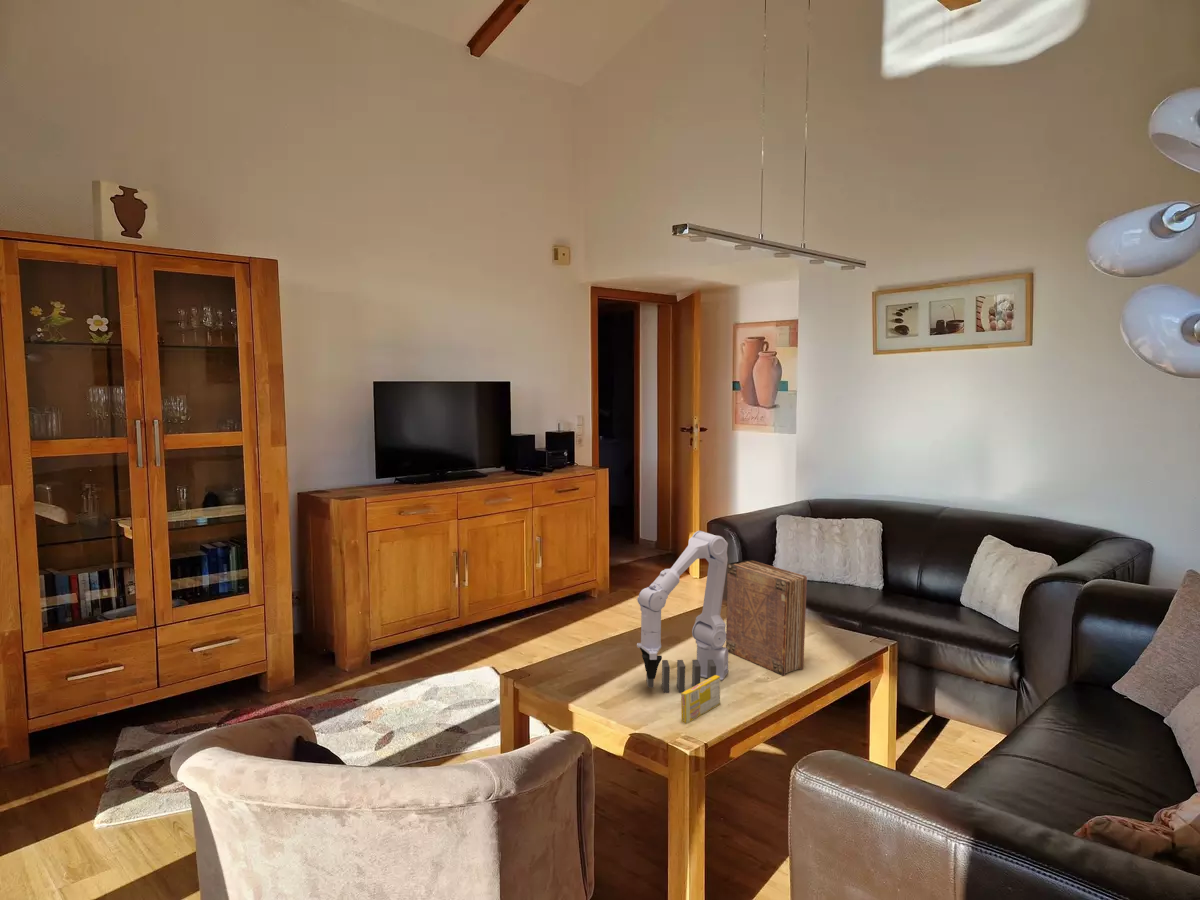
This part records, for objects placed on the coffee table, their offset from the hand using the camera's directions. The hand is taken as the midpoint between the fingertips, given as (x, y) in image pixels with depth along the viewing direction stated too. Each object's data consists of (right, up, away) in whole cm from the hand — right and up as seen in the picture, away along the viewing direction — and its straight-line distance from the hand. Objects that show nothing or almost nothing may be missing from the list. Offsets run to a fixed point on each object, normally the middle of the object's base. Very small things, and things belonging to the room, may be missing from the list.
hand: (650, 674), depth 229 cm
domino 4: (+14, -5, +1) cm, 14 cm away
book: (+38, -2, +24) cm, 45 cm away
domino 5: (+18, -5, +1) cm, 19 cm away
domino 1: (0, -3, 0) cm, 3 cm away
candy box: (+13, -7, -14) cm, 20 cm away
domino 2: (+5, -5, +1) cm, 6 cm away
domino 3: (+9, -5, +1) cm, 10 cm away
